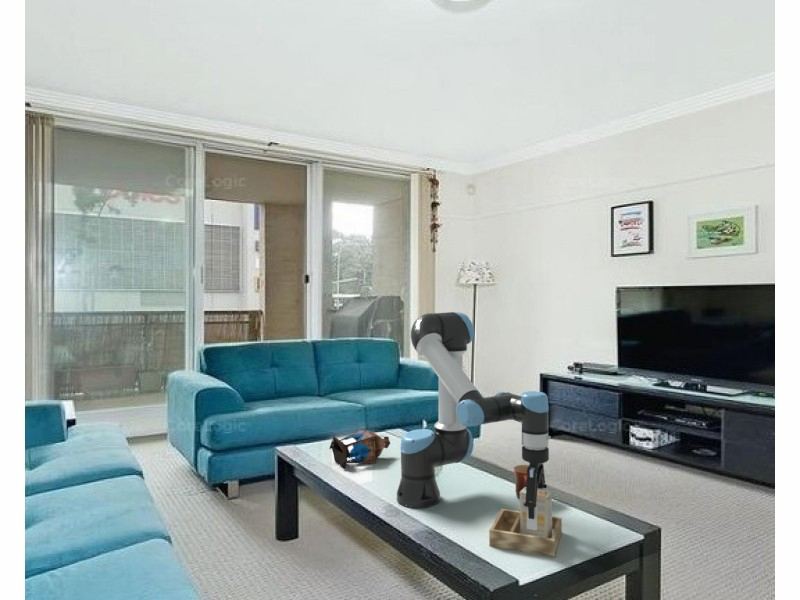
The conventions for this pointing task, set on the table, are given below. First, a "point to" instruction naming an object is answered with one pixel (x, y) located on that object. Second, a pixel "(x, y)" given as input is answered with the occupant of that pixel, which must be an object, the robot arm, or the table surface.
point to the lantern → (359, 448)
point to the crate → (522, 535)
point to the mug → (520, 478)
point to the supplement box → (538, 514)
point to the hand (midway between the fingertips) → (536, 519)
